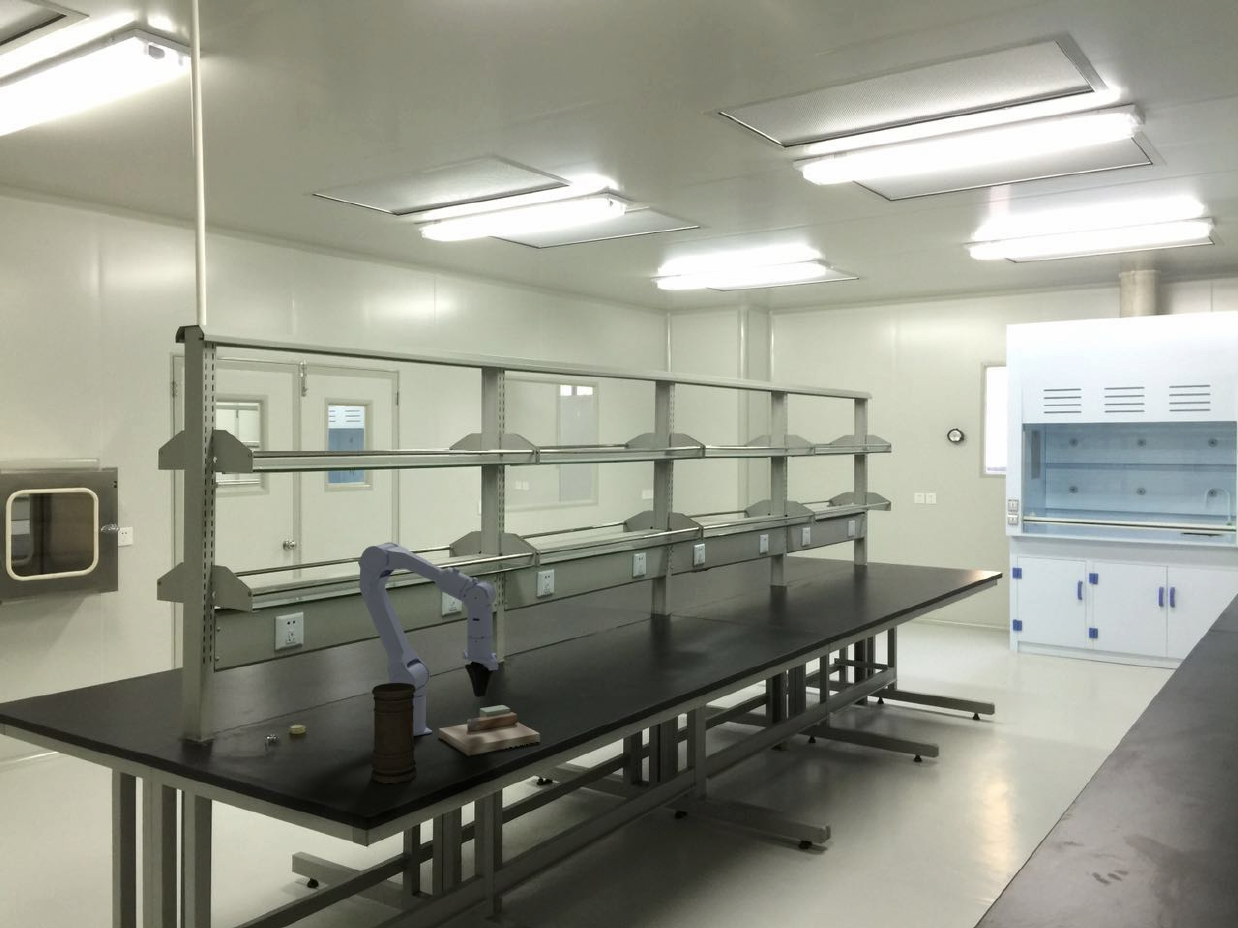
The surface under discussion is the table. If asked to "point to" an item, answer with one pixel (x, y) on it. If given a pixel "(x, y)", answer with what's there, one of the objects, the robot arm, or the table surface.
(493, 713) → the block
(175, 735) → the table surface
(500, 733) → the stool seat
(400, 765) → the container
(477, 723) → the stool leg
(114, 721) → the table surface
